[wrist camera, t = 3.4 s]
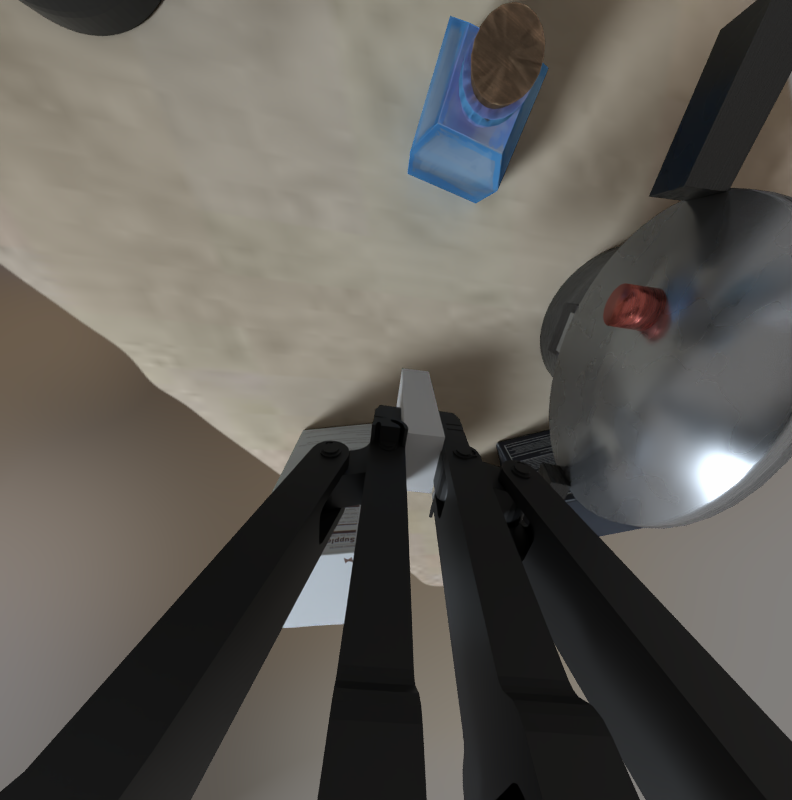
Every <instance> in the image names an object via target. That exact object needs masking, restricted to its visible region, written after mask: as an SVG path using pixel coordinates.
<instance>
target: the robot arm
mask: <svg viewBox="0 0 792 800" xmlns="http://www.w3.org/2000/svg"><path fill="white" fill-rule="evenodd" d="M19 1H21V2H22V3H24V4H25V5H27V6H28V7H30V8H31V9H33V10H34V11H36V12H37V13H39V14H40V15H42V16H44V17H45V18H47V19H49V20H50V21H52V22H54V23H56V24H58V25H60V26H62V27H65V28H67V29H70V30H72V31H75V32H79V33H83V34H87V35H95V36H108V35H115V34H120V33H123V32H126V31H128V30H130V29H132V28H134V27H136V26H137V25H139V24H140V23H142V22H143V21H144V20H145V19H146V18H147V17H148V16H149V15H150V14H151V13H152V12H153V11H154V9H155V8H156V7H157V5H158V4H159V2H160V1H161V0H19ZM433 484H434V488H435V494H434V498H433V502H432V506H431V510H430V514H429V517H432V515H433V512H434V517H435V524H436V532H437V540H438V547H439V555H440V562H441V570H442V578H443V585H444V592H445V600H446V608H447V616H448V623H449V630H450V638H451V646H452V653H453V661H454V669H455V676H456V684H457V691H458V698H459V706H460V714H461V722H462V729H463V738H464V760H463V791H464V800H640V799H639V797H638V794H637V792H636V790H635V788H634V785H633V783H632V781H631V778H630V776H629V774H628V772H627V769H626V767H627V768H628V770H629V772H630V773H631V775H632V777H633V779H634V780H635V782H636V784H637V786H638V787H639V789H640V791H641V792H642V794H643V796H644V798H645V799H646V800H792V741H791V740H790V739H789V738H788V737H787V736H786V735H785V734H784V733H783V732H782V731H781V730H780V729H779V727H778V726H777V725H776V724H775V723H774V722H773V721H772V720H771V719H770V718H769V717H768V716H767V715H766V714H765V713H764V712H763V711H762V710H761V708H760V707H759V706H758V705H757V704H756V703H755V702H754V701H753V700H752V699H751V698H750V697H749V696H748V695H747V694H746V692H745V691H744V690H743V689H742V688H741V687H740V686H739V685H738V684H737V683H736V682H735V681H734V680H733V679H732V678H731V677H730V675H728V673H727V672H726V671H725V670H724V669H723V668H722V667H721V666H720V665H719V664H718V663H717V662H716V661H715V660H714V658H712V657H711V655H710V654H709V653H708V652H707V651H706V650H705V649H704V648H703V647H702V646H701V645H700V644H699V643H698V642H697V640H696V639H695V638H694V637H693V636H692V635H691V634H690V633H689V632H688V631H687V630H686V629H685V628H684V627H683V626H682V625H681V623H680V622H679V621H678V620H677V619H676V618H675V617H674V616H673V615H672V614H671V613H670V612H669V611H668V610H667V609H666V608H665V607H664V606H663V604H662V603H661V602H660V601H659V600H658V599H657V598H656V597H655V596H654V595H653V594H652V593H651V592H650V591H649V590H648V588H647V587H645V585H644V584H643V583H642V582H641V581H640V580H639V579H638V578H637V577H636V576H635V575H634V574H633V573H632V572H631V570H630V569H629V568H628V567H627V566H626V565H625V564H624V563H623V562H622V561H621V560H620V559H619V558H618V557H617V556H616V555H615V554H614V552H613V551H612V550H611V549H610V548H609V547H608V546H607V545H606V544H605V543H604V542H603V541H602V540H601V539H600V538H599V537H598V535H597V534H596V533H595V532H594V531H593V530H592V529H591V528H590V527H589V526H588V525H587V524H586V523H585V522H584V521H583V520H582V518H581V517H580V516H579V515H578V514H577V513H576V512H575V511H574V510H573V509H572V508H571V507H570V506H569V505H568V504H567V503H566V502H565V500H564V499H563V498H562V497H561V496H560V495H559V494H558V493H557V492H556V491H555V490H554V489H553V488H552V487H551V486H550V485H549V483H548V482H547V481H546V480H545V479H544V478H543V477H542V476H541V475H540V474H539V473H538V472H537V471H536V470H535V469H534V468H533V467H531V466H530V465H528V464H526V463H524V462H521V461H517V460H508V461H505V462H504V463H503V464H502V467H501V468H500V467H497V466H494V465H491V464H488V463H485V462H483V461H482V459H481V457H480V455H479V453H478V452H477V451H476V450H475V449H473V448H472V447H470V446H469V444H468V442H467V439H466V436H465V433H464V432H463V428H462V425H461V422H460V419H459V418H458V417H457V416H456V415H455V414H454V413H448V412H440V411H438V407H437V403H436V399H435V395H434V391H433V387H432V383H431V379H430V375H429V371H421V370H413V369H405V368H402V373H401V380H400V386H399V393H398V400H397V406H396V407H392V406H383V405H380V406H379V407H378V408H377V409H376V410H375V415H374V422H373V424H372V429H371V438H370V443H369V444H368V445H367V446H365V447H364V448H361V449H357V450H349V448H348V447H347V446H346V445H345V444H343V443H341V442H338V441H323V442H320V443H318V444H316V445H315V446H313V447H312V449H311V450H310V451H309V452H308V453H307V454H306V455H305V456H304V458H303V459H302V460H301V461H300V462H299V463H298V464H297V465H296V467H295V468H294V469H293V470H292V471H291V472H290V473H289V474H288V476H287V477H286V478H285V479H284V480H283V481H282V482H281V483H280V485H279V486H278V487H277V488H276V489H275V490H274V491H273V492H272V494H271V495H270V496H269V497H268V498H267V499H266V500H265V501H264V503H263V504H262V505H261V506H260V507H259V508H258V509H257V511H256V512H255V513H254V514H253V515H252V516H251V517H250V518H249V520H248V521H247V522H246V523H245V524H244V525H243V526H242V527H241V529H240V530H239V531H238V532H237V533H236V534H235V535H234V536H233V537H232V539H231V540H230V541H229V542H228V543H227V544H226V545H225V546H224V548H223V549H222V550H221V551H220V552H219V553H218V554H217V555H216V557H215V558H214V559H213V560H212V561H211V562H210V563H209V565H208V566H207V567H206V568H205V569H204V570H203V571H202V572H201V573H200V575H199V576H198V577H197V578H196V579H195V580H194V581H193V582H192V584H191V585H190V586H189V587H188V588H187V589H186V590H185V592H184V593H183V594H182V595H181V596H180V597H179V598H178V599H177V601H176V602H175V603H174V604H173V605H172V606H171V608H169V610H168V611H167V612H166V613H165V614H164V615H163V616H162V618H160V620H159V621H158V622H157V623H156V624H155V625H154V626H153V627H152V629H151V630H150V631H149V632H148V633H147V634H146V635H145V637H144V638H143V639H142V640H141V641H140V642H139V643H138V644H137V646H136V647H135V648H134V649H133V650H132V651H131V652H130V653H129V655H128V656H127V657H126V658H125V659H124V660H123V661H122V662H121V664H120V665H119V666H118V667H117V668H116V669H115V670H114V671H113V673H112V674H111V675H110V676H109V677H108V678H107V679H106V680H105V682H104V683H103V684H102V685H101V686H100V687H99V688H98V690H97V691H96V692H95V693H94V694H93V695H92V696H91V697H90V698H89V700H88V701H87V702H86V703H85V704H84V705H83V706H82V707H81V709H80V710H79V711H78V712H77V713H76V714H75V715H74V716H73V718H72V719H71V720H70V721H69V722H68V723H67V724H66V725H65V727H64V728H63V729H62V730H61V731H60V732H59V733H58V734H57V736H56V737H55V738H54V739H53V740H52V741H51V743H49V745H48V746H47V747H46V748H45V749H44V750H43V751H42V752H41V754H40V755H39V756H38V757H37V758H36V759H35V760H34V761H33V763H32V764H31V765H30V766H29V767H28V768H27V769H26V770H25V772H23V773H22V774H21V775H20V776H19V777H17V778H16V779H15V780H14V781H13V782H12V783H10V784H9V785H8V786H7V787H5V788H4V789H3V790H2V791H1V792H0V800H191V798H192V796H193V795H194V792H195V791H196V789H197V787H198V785H199V783H200V781H201V780H202V778H203V776H204V774H205V772H206V770H207V768H208V766H209V764H210V762H211V761H212V759H213V757H214V755H215V753H216V751H217V749H218V748H219V746H220V744H221V742H222V740H223V738H224V736H225V734H226V732H227V731H228V729H229V727H230V725H231V723H232V721H233V719H234V717H235V715H236V714H237V712H238V710H239V708H240V706H241V704H242V703H243V701H244V699H245V697H246V695H247V693H248V691H249V689H250V688H251V686H252V684H253V682H254V680H255V678H256V676H257V674H258V672H259V671H260V669H261V667H262V665H263V663H264V661H265V659H266V658H267V656H268V654H269V652H270V650H271V648H272V646H273V644H274V642H275V641H276V639H277V637H278V635H279V633H280V631H281V629H282V627H283V626H284V624H285V622H286V620H287V618H288V616H289V614H290V612H291V611H292V609H293V607H294V605H295V603H296V601H297V599H298V597H299V596H300V594H301V592H302V590H303V588H304V586H305V584H306V582H307V581H308V579H309V577H310V575H311V573H312V571H313V569H314V567H315V566H316V564H317V562H318V560H319V558H320V556H321V554H322V552H323V551H324V549H325V547H326V545H327V543H328V541H329V539H330V537H331V536H332V534H333V532H334V530H335V528H336V526H337V524H338V522H339V520H340V519H341V517H342V515H343V513H344V511H345V507H350V506H355V505H361V509H360V516H359V523H358V530H357V537H356V544H355V551H354V558H353V565H352V572H351V578H350V585H349V592H348V599H347V606H346V613H345V620H344V627H343V635H342V641H341V649H340V655H339V663H338V669H337V676H336V681H335V686H334V692H333V698H332V704H331V711H330V717H329V724H328V732H327V738H326V745H325V752H324V759H323V766H322V772H321V779H320V787H319V793H318V800H427V798H426V779H425V761H424V742H423V724H422V711H421V702H420V697H419V692H418V691H417V688H416V686H415V680H414V666H413V665H414V664H413V639H412V614H411V613H412V612H411V588H410V587H411V586H410V560H409V534H408V508H407V491H414V492H424V493H432V488H433ZM524 515H525V516H526V518H527V519H528V520H529V522H530V523H529V525H527V524H526V523H525V522H524V521H523V516H524ZM554 644H555V645H556V647H557V649H558V651H559V652H560V654H561V656H562V657H563V659H564V661H565V663H566V664H567V666H568V667H569V669H570V671H571V673H572V674H573V676H574V678H575V680H576V681H577V683H578V685H579V686H580V688H581V690H582V691H583V693H584V695H585V697H586V698H587V700H588V702H589V703H587V702H586V701H584V700H582V699H581V698H579V697H578V696H577V694H576V693H575V692H574V690H573V689H572V686H571V684H570V682H569V680H568V678H567V675H566V673H565V670H564V668H563V665H562V663H561V660H560V657H559V655H558V652H557V650H556V647H555V645H554ZM624 763H625V765H626V767H625V765H624Z"/></svg>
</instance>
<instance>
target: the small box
mask: <svg viewBox="0 0 792 800" xmlns="http://www.w3.org/2000/svg"><path fill="white" fill-rule="evenodd" d="M496 447H497V450H498V454H499V459H500V465H501V467H502V464H503V463H504V462H505V461H508V460H517V461H521V462H524V463H526V464H528V465H530V466H531V467H533V468H534V469H535V470H536V471H537V472H538V470H539V468H540V465H541V463H542V462H543V463H548V464H554V465H556V462H555V459H554V455H553V450H552V446H551V439H550V430H547V431H543V432H539V433H535V434H531V435H527V436H523V437H518V438H514V439H510V440H506V441H502V442H498V443H497V445H496ZM564 500H565V502H566V503H567V504H568V505H569V506H570V507H571V508H572V509H573V510H574V511H575V512H576V513H577V514H578V515H579V516H580V517H581V518H582V520H583V521H584V522H585V523H586V524H587V525H588V526H589V527H590V528H591V529H592V530H593V531H594V532H595V533H596V534H597V535H598V537H599V536H604V535H609V534H614V533H620V532H625V531H630V530H634V529H640V528H642V527H637V526H632V525H627V524H622V523H618V522H613V521H609V520H607V519H604V518H602V517H600V516H597V515H596V514H594V513H593V512H591V511H590V510H588V509H586V508H585V507H584V506H583V505H582V504H581V503H580V502H579V501H578V500H577V499H576V498H575V497H574V496H573V494H572V493H571V492H570V491H569V492H568V494H567V496H566V498H565V499H564ZM523 521H524V522H525V523H526V524H527V525H529V523H530V522H529V520H528V519H527V518H526V516H525V515H524V516H523Z"/></svg>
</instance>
